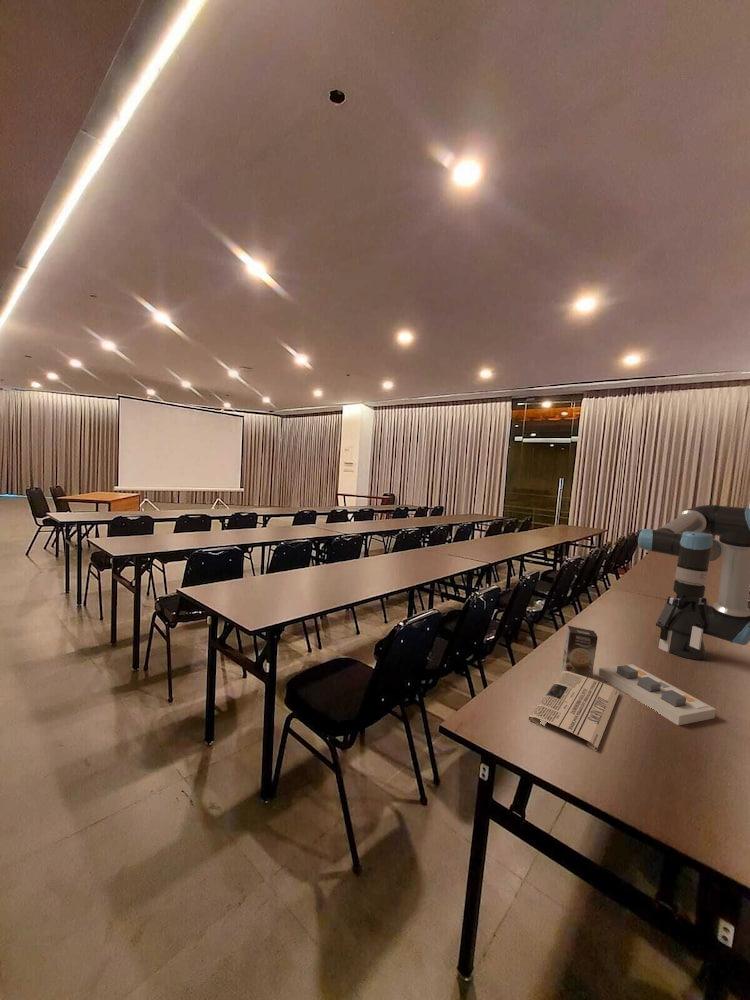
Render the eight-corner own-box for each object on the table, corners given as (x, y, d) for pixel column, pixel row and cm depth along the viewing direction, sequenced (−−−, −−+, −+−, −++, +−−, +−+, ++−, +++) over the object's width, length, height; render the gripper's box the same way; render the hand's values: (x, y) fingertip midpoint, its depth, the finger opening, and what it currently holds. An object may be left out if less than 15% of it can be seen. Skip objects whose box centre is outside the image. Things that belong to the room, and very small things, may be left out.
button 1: (625, 673, 144) (626, 665, 144) (636, 680, 140) (638, 671, 139) (616, 675, 142) (617, 666, 142) (627, 681, 138) (628, 672, 138)
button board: (631, 671, 150) (632, 662, 150) (714, 718, 124) (716, 707, 123) (598, 675, 145) (599, 667, 145) (678, 725, 119) (679, 714, 118)
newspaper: (562, 675, 144) (562, 668, 144) (624, 698, 132) (625, 690, 132) (527, 722, 116) (529, 713, 115) (603, 757, 104) (605, 747, 103)
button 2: (670, 699, 129) (672, 689, 128) (684, 707, 125) (686, 697, 124) (660, 701, 127) (662, 691, 127) (674, 709, 123) (676, 699, 123)
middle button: (646, 686, 136) (648, 676, 136) (659, 693, 132) (660, 683, 132) (637, 687, 135) (638, 678, 135) (649, 694, 131) (651, 685, 130)
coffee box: (563, 674, 144) (569, 631, 143) (561, 666, 150) (566, 625, 149) (592, 681, 141) (598, 637, 140) (589, 672, 147) (594, 630, 146)
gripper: (673, 586, 116) (662, 656, 118) (731, 585, 124) (720, 652, 125) (648, 578, 123) (638, 645, 125) (704, 578, 131) (694, 641, 132)
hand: (679, 648), depth 125 cm, fingers open, 13 cm apart
